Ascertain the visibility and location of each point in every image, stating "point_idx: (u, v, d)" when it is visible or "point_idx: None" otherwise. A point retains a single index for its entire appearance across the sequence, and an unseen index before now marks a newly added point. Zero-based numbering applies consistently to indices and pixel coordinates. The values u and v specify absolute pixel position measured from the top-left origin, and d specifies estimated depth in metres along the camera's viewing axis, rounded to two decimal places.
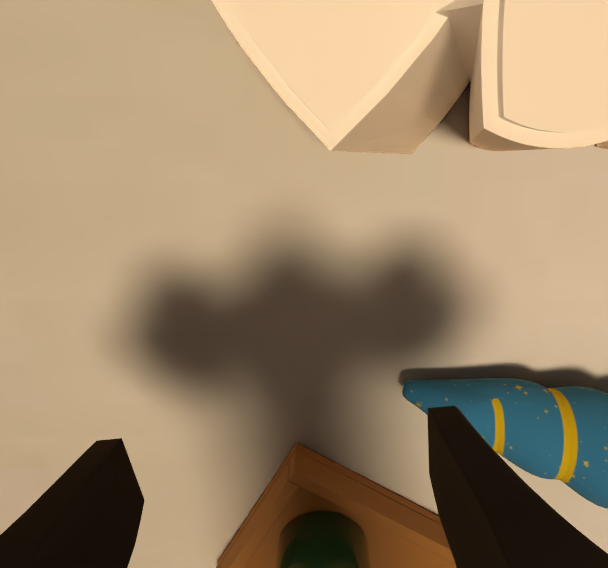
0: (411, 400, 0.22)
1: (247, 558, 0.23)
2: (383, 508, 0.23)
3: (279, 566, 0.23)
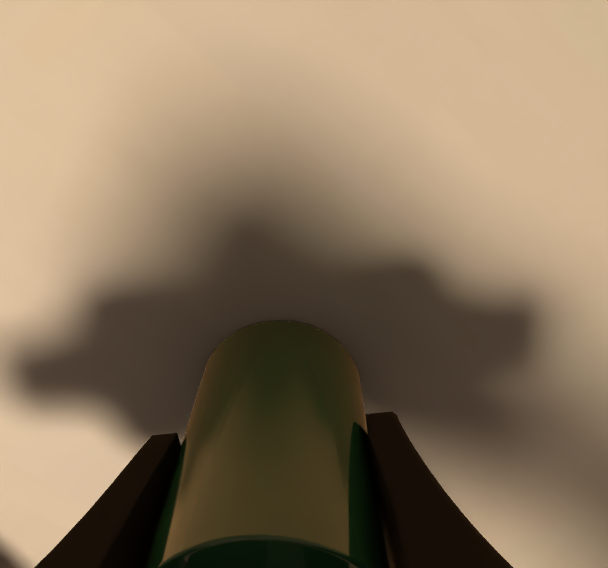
0: None
1: None
2: None
3: None
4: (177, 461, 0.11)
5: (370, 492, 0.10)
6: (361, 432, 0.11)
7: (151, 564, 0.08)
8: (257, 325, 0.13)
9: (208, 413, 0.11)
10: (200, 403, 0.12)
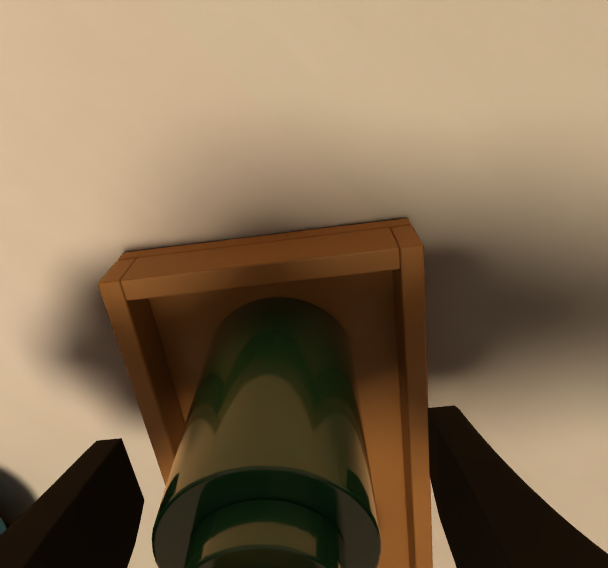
0: None
1: None
2: None
3: None
4: (187, 417, 0.12)
5: (359, 440, 0.11)
6: (352, 392, 0.12)
7: (168, 495, 0.09)
8: (258, 301, 0.15)
9: (215, 375, 0.12)
10: (207, 368, 0.13)
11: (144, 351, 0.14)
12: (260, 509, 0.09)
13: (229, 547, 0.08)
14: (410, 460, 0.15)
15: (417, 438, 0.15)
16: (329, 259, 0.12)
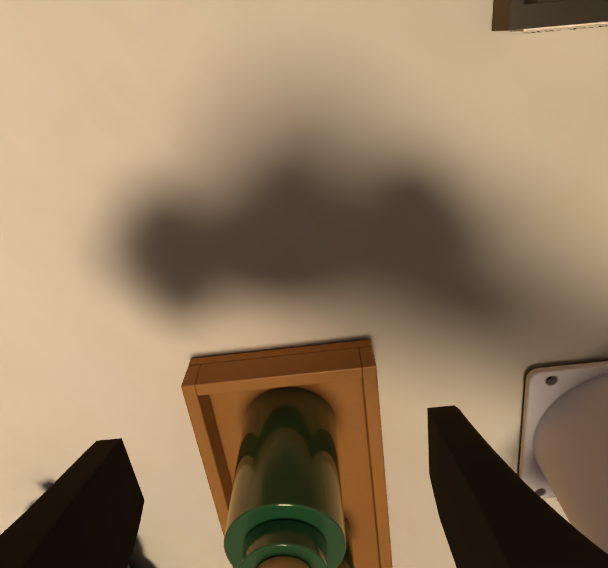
0: None
1: None
2: None
3: None
4: (237, 469, 0.20)
5: (336, 485, 0.19)
6: (333, 453, 0.21)
7: (233, 517, 0.18)
8: (276, 390, 0.23)
9: (252, 443, 0.21)
10: (247, 437, 0.21)
11: (206, 423, 0.22)
12: (282, 525, 0.17)
13: (268, 544, 0.17)
14: (373, 489, 0.24)
15: (377, 476, 0.23)
16: (320, 373, 0.21)
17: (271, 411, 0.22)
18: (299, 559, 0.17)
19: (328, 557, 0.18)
